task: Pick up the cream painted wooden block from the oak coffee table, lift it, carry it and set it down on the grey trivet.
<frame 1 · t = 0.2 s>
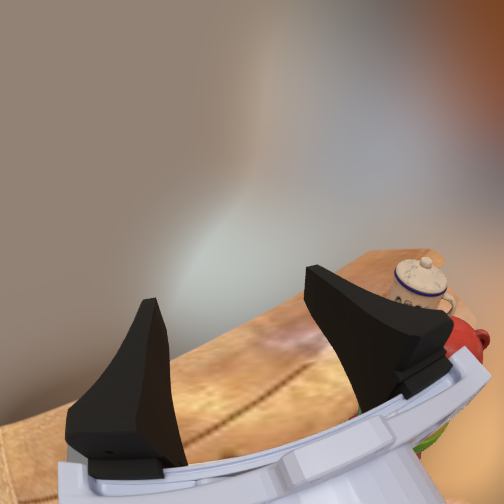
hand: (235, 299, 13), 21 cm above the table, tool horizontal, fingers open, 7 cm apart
stacking bear: (379, 442, 23), on the table
teacup with lid: (412, 324, 39), on the table
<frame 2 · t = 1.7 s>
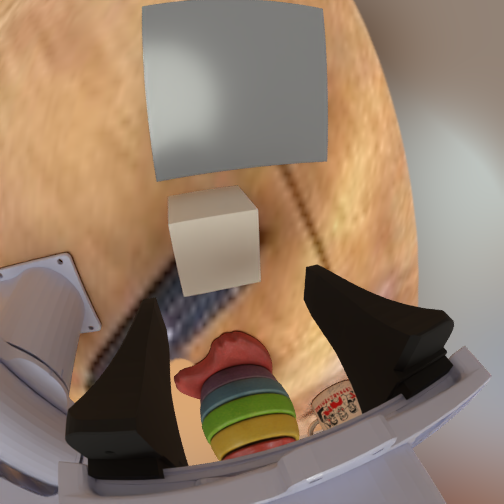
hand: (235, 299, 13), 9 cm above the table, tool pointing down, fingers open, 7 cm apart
trivet: (238, 80, 16), on the table
block: (206, 222, 20), on the table
stacking bear: (229, 368, 30), on the table
teacup with lid: (326, 398, 42), on the table
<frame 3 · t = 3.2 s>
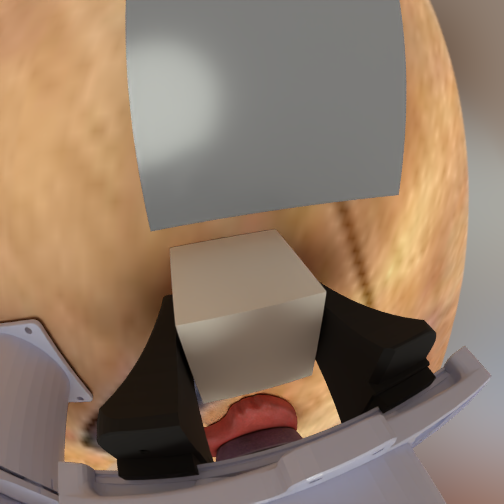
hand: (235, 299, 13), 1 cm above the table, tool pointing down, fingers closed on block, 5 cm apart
trivet: (282, 66, 9), on the table
block: (228, 282, 14), on the table, touching gripper
stacking bear: (248, 424, 23), on the table
when the fingers open (4 cm above the table, at t = 6.7 s): block stays where it is, resting on trivet.
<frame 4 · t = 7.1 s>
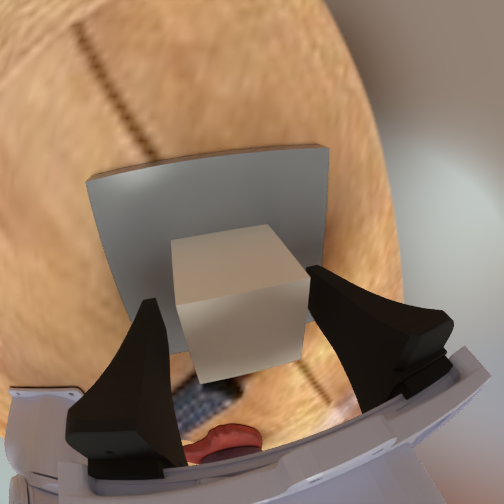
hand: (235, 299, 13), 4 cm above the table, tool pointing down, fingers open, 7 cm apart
trivet: (219, 257, 16), on the table
block: (224, 272, 15), point 1 cm above the table, touching trivet
stacking bear: (225, 441, 30), on the table
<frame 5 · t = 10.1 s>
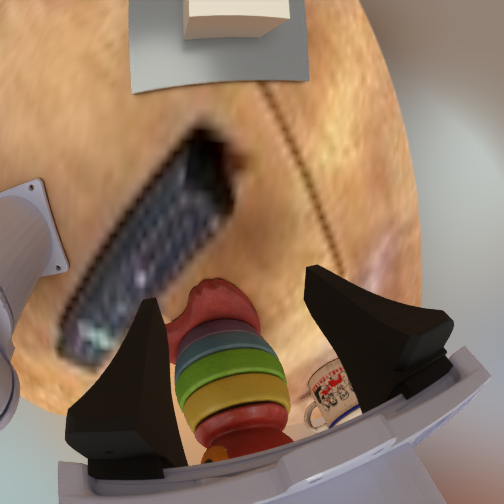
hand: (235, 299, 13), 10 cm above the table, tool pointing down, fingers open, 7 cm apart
trivet: (217, 8, 13), on the table
block: (221, 6, 12), point 1 cm above the table, touching trivet
stacking bear: (212, 329, 27), on the table
teacup with lid: (324, 378, 39), on the table
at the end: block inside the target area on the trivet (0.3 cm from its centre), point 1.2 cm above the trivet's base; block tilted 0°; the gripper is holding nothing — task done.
